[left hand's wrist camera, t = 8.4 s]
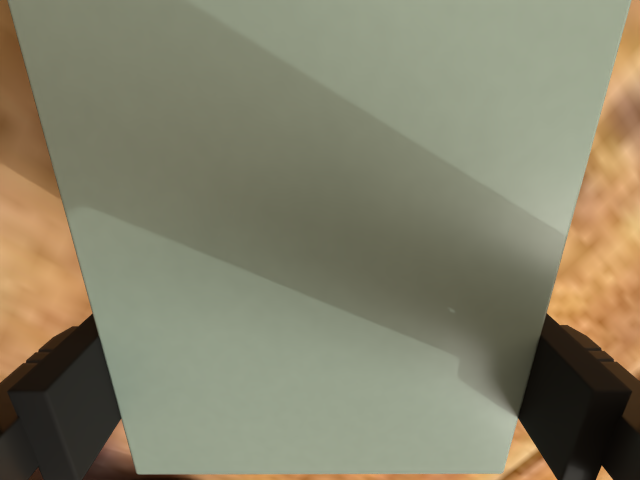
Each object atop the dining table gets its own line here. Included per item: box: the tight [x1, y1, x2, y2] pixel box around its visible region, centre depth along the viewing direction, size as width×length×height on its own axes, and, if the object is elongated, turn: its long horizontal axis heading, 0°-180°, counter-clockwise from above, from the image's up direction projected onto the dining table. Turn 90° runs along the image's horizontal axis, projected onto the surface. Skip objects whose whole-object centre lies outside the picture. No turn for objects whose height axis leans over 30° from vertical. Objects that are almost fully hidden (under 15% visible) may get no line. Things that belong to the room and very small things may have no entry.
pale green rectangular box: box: [7, 0, 631, 474], centre depth 12 cm, size 19×11×10 cm, turn 0°
